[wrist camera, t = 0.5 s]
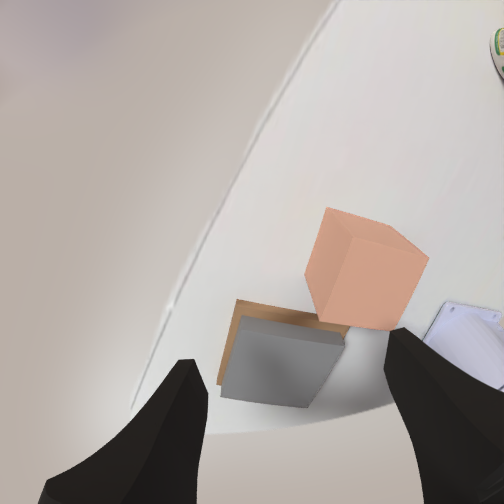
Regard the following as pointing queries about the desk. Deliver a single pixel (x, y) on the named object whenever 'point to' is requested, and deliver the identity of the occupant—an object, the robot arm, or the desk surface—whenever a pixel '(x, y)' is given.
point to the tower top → (279, 362)
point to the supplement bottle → (498, 49)
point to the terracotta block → (362, 271)
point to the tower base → (272, 315)
